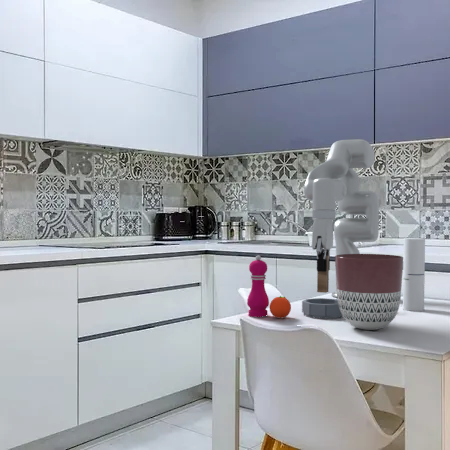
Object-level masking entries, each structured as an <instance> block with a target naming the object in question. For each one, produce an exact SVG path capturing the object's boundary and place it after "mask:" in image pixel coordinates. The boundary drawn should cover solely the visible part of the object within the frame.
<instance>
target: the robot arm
mask: <svg viewBox="0 0 450 450" xmlns="http://www.w3.org/2000/svg"><path fill="white" fill-rule="evenodd" d="M375 158H376V155H375V151H374V148H373V146H372V145H371V144H370V142H368V141H367V140H366V139H361V138H360V139H359V138H357V139H340V140H337V141H335V142H333V143H332V145H331V146H330V148H329V152H328V154H327V158H326V160H325V161H323V162H322V163H321V164H319V165H317V166H315V167H314V168H313V169H311V171H309V172H308V175H307V177H306V180H305V183H304V187H303V193H304V194H303V195H304V196H305V199H306V200H307V201H311V202H312V217H311V218H312V221H313V223H312V224H313V225H312V235H311V236H312V237H311V249H312V250H313V251H314V250H316V271H322V272H326V271H327V259H326V256H329V271H330V270H331V269H330V268H331V266H330V265H331V264H330V263H331V260H330V259H331V249H332V248H333V246H334V241H335V256H336V255H341V254H361V253H360V249H359V248H358V247H357V246H356V245H355V243H373V242H376V241H377V240H378V237H379V231H380V230H379V228H380V227H379V226H380V225H379V220H380V213H379V212H380V205H379V204H380V203H379V201H380V200H379V196H378V194H377V193H376V192H375V191H372V190H361V188H360V187H361V186H360V177H359V175H358V174H357V172H356V171H355V169H369V168H371V167H373V165H374V164H375ZM336 202H337V207H338V211H339V213H341V214H342V215H348V216H349V215H350V216H351V215H352V216H353V215H357V216H360V215H361V216H366V217H365V218H363V217H362V218H361V217H343V218H340V219H337V220H336ZM333 221H335V222H334V223H333ZM331 296H332V297H333V298H337V286H336V285H335V291H333V292H331Z"/></svg>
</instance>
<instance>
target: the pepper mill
mask: <svg viewBox="0 0 450 450" xmlns="http://www.w3.org/2000/svg"><path fill="white" fill-rule="evenodd" d="M248 271H249V272H250V273H251V274H250V280H251V290H250V291H249V295H248V296H247V297H248V298H247V300H246V301H247V302H246V304H247V306H248V308H249V309H248V316H249V317H250V318H251V317H252V318H263V317H262V316H266V315H267V316H268V310H267V308H268V307H269V306H270V299H269V296H268V294H267V291H266V288H265V280H266V277H267V275H266V273H267V271H268V265H267V263H266V262H265V261H264V260H262V257H261V255H256V256H255V260H252V261H251V262H250V264H249V266H248ZM267 316H266V317H267Z"/></svg>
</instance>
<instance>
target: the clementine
mask: <svg viewBox="0 0 450 450" xmlns="http://www.w3.org/2000/svg"><path fill="white" fill-rule="evenodd" d="M291 310H292V305H291V302H290V300H289V299H287V297H286V296H281V295H280V296H276V297H275V298H273V299H272V300H271V302H269V312H270V313H271V315H272V316H273V317H275V318H277V319H284V318H286V317H287V316H289V314H290V313H291Z"/></svg>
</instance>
